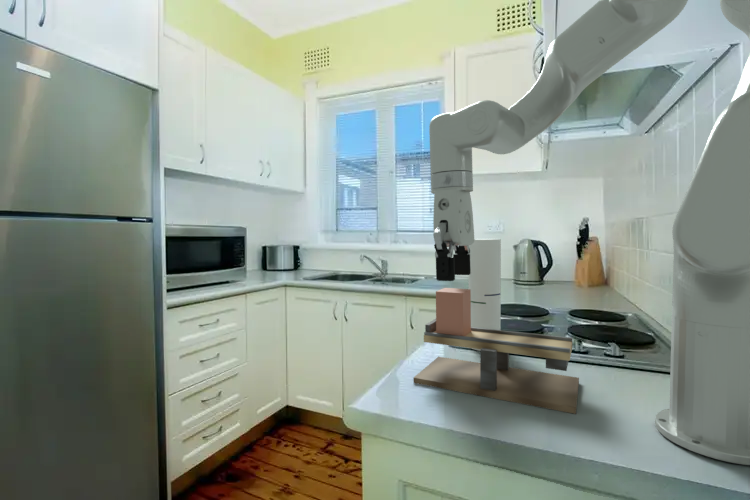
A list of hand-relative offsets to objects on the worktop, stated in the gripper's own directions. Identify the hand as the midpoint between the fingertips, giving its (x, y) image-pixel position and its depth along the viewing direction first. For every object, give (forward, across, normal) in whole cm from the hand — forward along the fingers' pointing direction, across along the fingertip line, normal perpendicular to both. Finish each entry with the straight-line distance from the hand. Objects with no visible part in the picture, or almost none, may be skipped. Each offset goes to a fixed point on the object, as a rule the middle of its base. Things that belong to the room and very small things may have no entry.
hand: (454, 277), depth 73 cm
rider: (+10, 0, 0) cm, 10 cm away
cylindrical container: (+19, +21, 0) cm, 28 cm away
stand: (+19, 0, -7) cm, 20 cm away
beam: (+14, 0, -7) cm, 15 cm away
